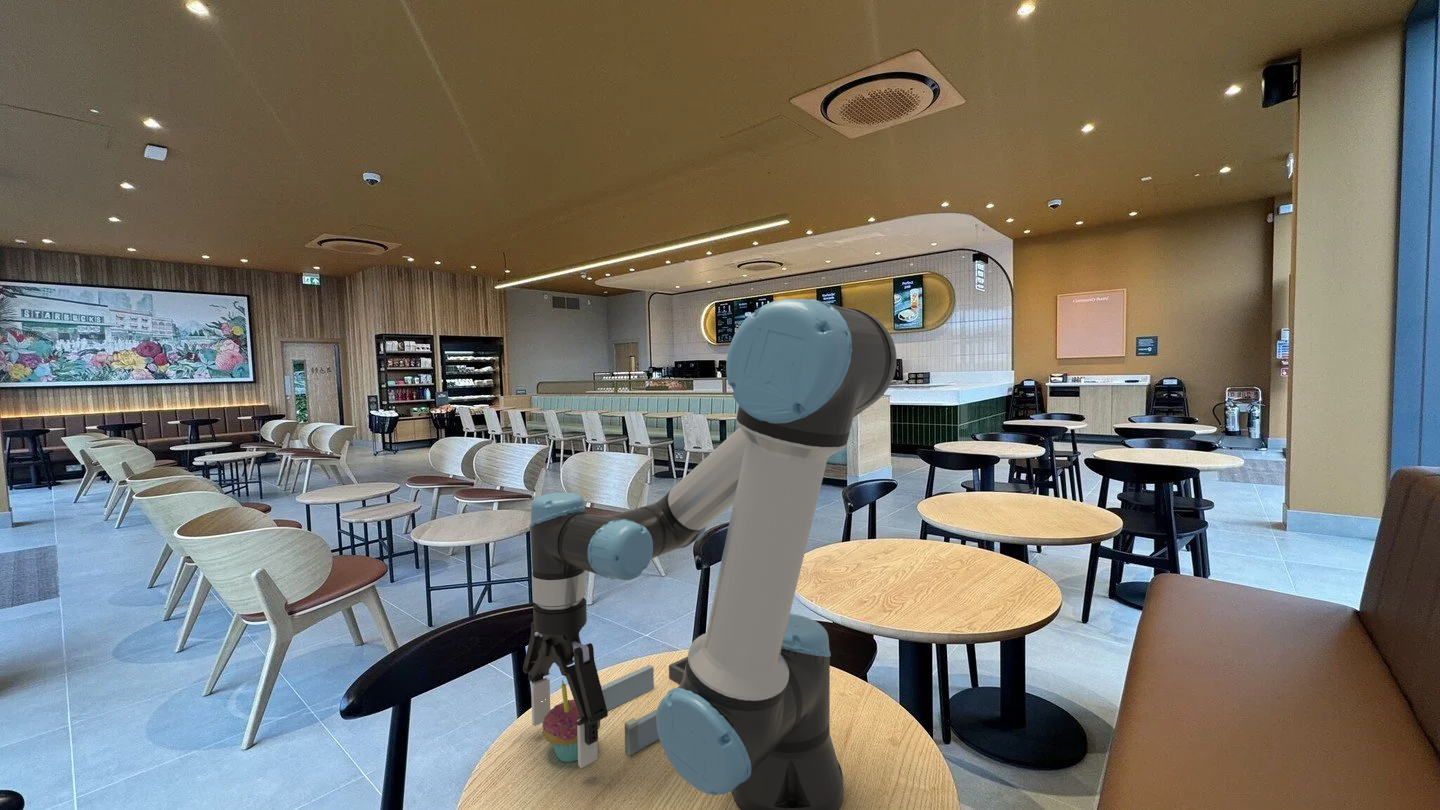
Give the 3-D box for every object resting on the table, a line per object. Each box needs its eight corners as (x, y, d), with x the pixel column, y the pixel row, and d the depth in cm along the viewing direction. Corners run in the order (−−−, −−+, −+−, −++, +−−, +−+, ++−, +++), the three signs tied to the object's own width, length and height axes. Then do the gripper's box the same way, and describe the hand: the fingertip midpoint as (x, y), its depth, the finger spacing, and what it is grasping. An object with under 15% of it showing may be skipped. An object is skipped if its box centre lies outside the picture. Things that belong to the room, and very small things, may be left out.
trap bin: (746, 687, 104) (746, 674, 104) (716, 704, 99) (716, 690, 99) (699, 663, 113) (699, 651, 113) (669, 678, 108) (668, 665, 108)
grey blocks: (699, 716, 96) (699, 688, 96) (630, 755, 86) (629, 725, 86) (649, 686, 105) (649, 661, 105) (582, 718, 96) (581, 691, 95)
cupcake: (583, 775, 82) (581, 692, 81) (530, 765, 84) (528, 684, 84) (610, 738, 90) (608, 663, 90) (562, 730, 93) (560, 656, 92)
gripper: (631, 617, 79) (634, 768, 80) (542, 573, 96) (545, 698, 97) (582, 634, 73) (586, 796, 74) (498, 585, 91) (502, 716, 92)
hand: (563, 741), depth 86 cm, fingers open, 13 cm apart
